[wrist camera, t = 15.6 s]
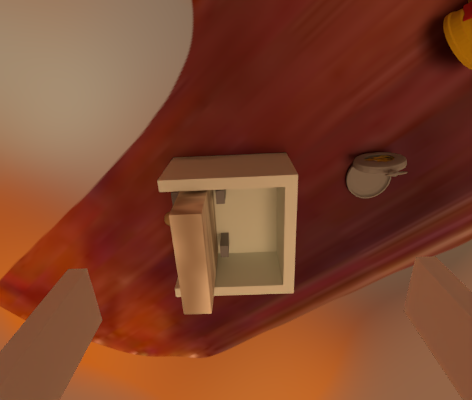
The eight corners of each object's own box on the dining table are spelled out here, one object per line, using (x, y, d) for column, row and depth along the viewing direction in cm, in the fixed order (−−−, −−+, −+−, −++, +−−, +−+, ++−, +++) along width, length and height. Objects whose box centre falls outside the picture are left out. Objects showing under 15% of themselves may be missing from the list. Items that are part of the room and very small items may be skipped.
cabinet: (286, 152, 46) (298, 174, 37) (284, 253, 53) (293, 293, 44) (173, 157, 46) (157, 180, 37) (186, 257, 53) (176, 296, 44)
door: (211, 171, 45) (201, 213, 33) (218, 250, 51) (211, 313, 38) (177, 173, 46) (153, 215, 33) (187, 252, 51) (170, 314, 38)
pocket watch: (360, 203, 49) (388, 235, 40) (329, 166, 47) (351, 191, 37) (405, 171, 47) (446, 197, 38) (376, 130, 44) (412, 147, 35)
